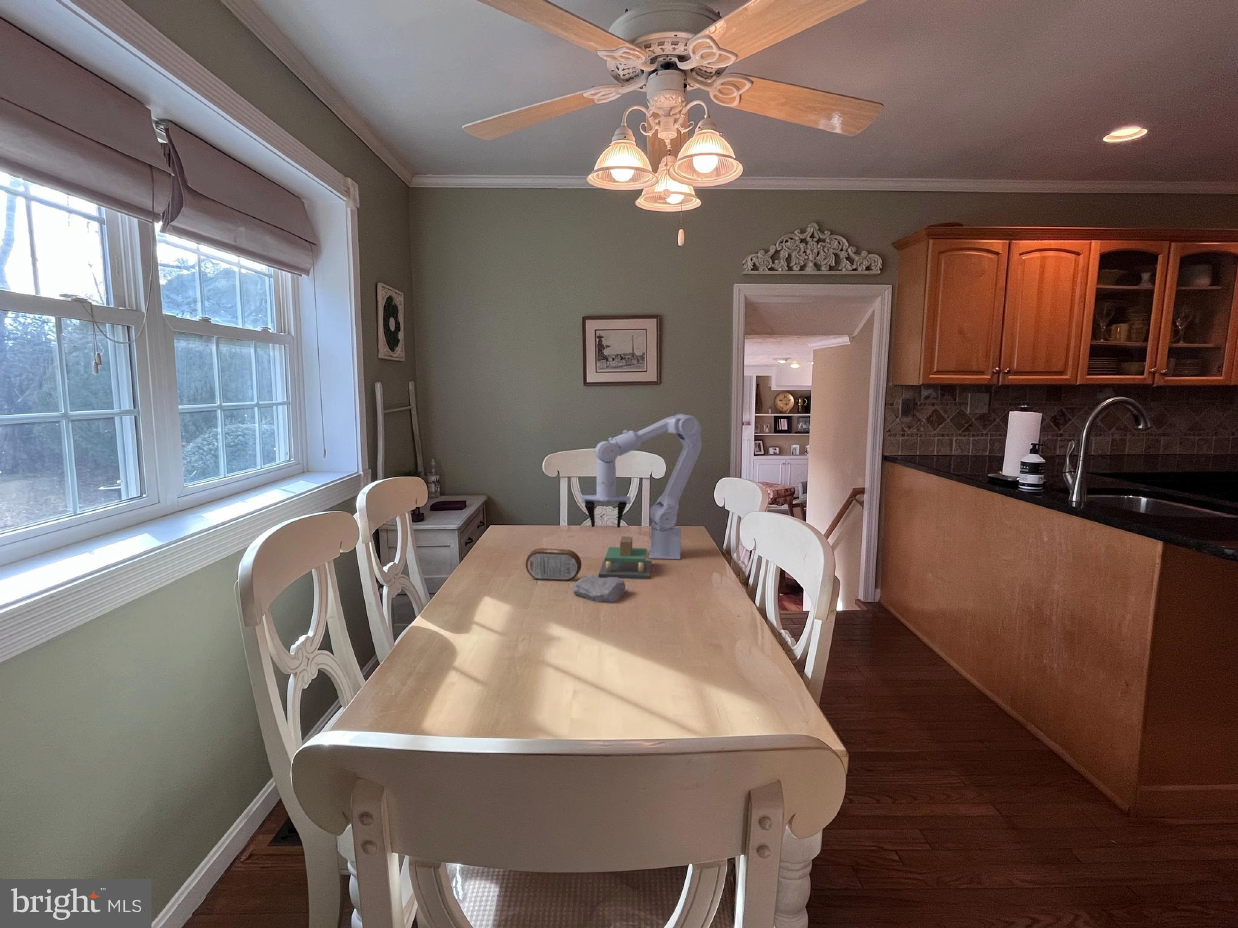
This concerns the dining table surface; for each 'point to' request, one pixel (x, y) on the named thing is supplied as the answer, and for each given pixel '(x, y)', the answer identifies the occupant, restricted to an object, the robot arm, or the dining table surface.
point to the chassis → (626, 569)
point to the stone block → (600, 588)
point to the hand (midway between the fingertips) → (605, 526)
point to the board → (633, 558)
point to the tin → (553, 564)
